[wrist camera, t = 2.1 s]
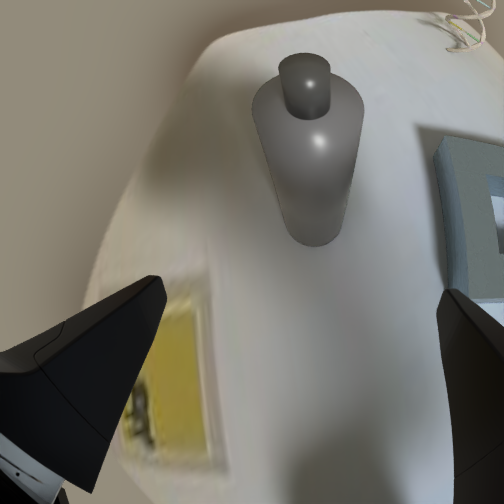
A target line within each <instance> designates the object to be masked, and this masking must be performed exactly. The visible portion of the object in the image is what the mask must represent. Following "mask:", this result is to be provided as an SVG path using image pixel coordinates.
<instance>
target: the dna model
mask: <svg viewBox="0 0 504 504" xmlns="http://www.w3.org/2000/svg"><path fill="white" fill-rule="evenodd" d="M476 1H478V2H480V3H481V4H483V5H485V6H486V7H488V8H489V10H488V11H486V12H484V13H481V14H479V13H477V12H476V10H475V9H474V8H473V7H472V5H471V4H470V3H469V1H468V0H463V2H465V3H467V4H468V6H469V7H470V8H471V9H472V10H473V12H474V14H475V15H463V16H459V15H447V16H446V17H445V20H446V21H447V22H448V23H449V24H450V25H451V26H452V27H453V28H454V29H455V30H456V31H457V33H458V34H459V35H460V36H461V38H462V39H463V40H464V42H465V43H466V45H467V46H468V48H457V49H453V48H447V50H448V51H452V52H469V51H472V50H475V49H477V48H479V47H480V46H481V44H483V43H484V40H485V37H486V34H485V28H484V25H483V22H482V20H481V19H483V18H485V17H488V16H490V15H491V14H492V12H493V11H494V10H495V6H496V4H495V0H492V3H491V7H489V6H488V5H486V4H484V3H483V2H481V1H480V0H476ZM450 19H478V21H479V23H480V26H481V29H482V35H481V38H480V41H479V40H478V39H476V38H475V37H473V36H472V35H470V34H469V33H467V32H466V31H465V30H464V32H465V33H467V34H468V35H469V36H470V37H472V38H473V39H475V40H476V41H477V42H478V43H476V44H474V45H472V46H471V47H469V46H470V45H469V43H468V41H467V40H466V39H465V37H464V36H463V34H462V33H461V32H460V30H462V28H460V27H459V26H457V25H456V24H454V23H452V22H451V21H450ZM458 28H459V29H460V30H459V29H458ZM462 31H463V30H462Z"/></svg>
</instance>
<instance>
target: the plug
mask: <svg viewBox="0 0 504 504" xmlns="http://www.w3.org/2000/svg"><path fill="white" fill-rule="evenodd" d="M278 70H279V75H278V76H276V77H274V78H272V79H271V80H269V81H268V82H266V83H265V84H264V85H263V86H262V87H261V88H260V89H259V90H258V92H257V93H256V95H255V97H254V100H253V103H252V115H253V119H254V122H255V125H256V128H257V131H258V134H259V137H260V140H261V144H262V147H263V150H264V153H265V156H266V159H267V163H268V166H269V169H270V172H271V176H272V179H273V182H274V186H275V189H276V192H277V196H278V199H279V203H280V206H281V209H282V213H283V216H284V220H285V223H286V227H287V230H288V232H289V233H290V235H291V236H292V237H293V238H294V239H295V240H296V241H297V242H299V243H301V244H303V245H306V246H311V247H317V246H322V245H325V244H327V243H329V242H331V241H332V240H333V239H334V238H335V237H336V236H337V235H338V233H339V232H340V229H341V226H342V222H343V218H344V214H345V209H346V205H347V201H348V196H349V192H350V187H351V182H352V177H353V173H354V168H355V162H356V157H357V152H358V147H359V141H360V135H361V130H362V124H363V117H364V104H363V100H362V98H361V96H360V94H359V93H358V91H357V90H356V89H355V88H354V87H353V86H352V85H351V84H350V83H349V82H347V81H346V80H345V79H343V78H341V77H339V76H337V75H335V74H332V73H330V64H329V63H328V61H327V60H326V59H324V58H323V57H321V56H319V55H316V54H312V53H297V54H293V55H290V56H288V57H286V58H284V59H283V60H282V61H281V62H280V64H279V67H278Z"/></svg>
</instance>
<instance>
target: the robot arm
mask: <svg viewBox="0 0 504 504" xmlns="http://www.w3.org/2000/svg"><path fill="white" fill-rule="evenodd" d="M166 303H167V294H166V291H165V288H164V285H163V281H162V279H161V277H160V276H155V275H148V276H146V277H144V278H142V279H140V280H138V281H136V282H135V283H133V284H131V285H129V286H127V287H125V288H123V289H122V290H120V291H118V292H116V293H114V294H112V295H110V296H109V297H107V298H105V299H103V300H101V301H99V302H97V303H96V304H94V305H92V306H90V307H88V308H87V309H85V310H83V311H81V312H79V313H78V314H76V315H74V316H72V317H70V318H68V319H67V320H66V321H63V322H61V323H59V324H58V325H56V326H54V327H52V328H50V329H49V330H47V331H45V332H43V333H41V334H39V335H37V336H35V337H33V338H31V339H29V340H27V341H25V342H23V343H21V344H19V345H17V346H14V347H12V348H10V349H8V350H6V351H3V352H0V504H69V502H68V499H67V496H66V492H65V489H64V488H62V485H63V483H64V481H65V480H67V481H69V482H70V483H72V484H74V485H75V486H77V487H79V488H81V489H83V490H85V491H86V492H88V493H90V494H92V492H93V489H94V487H95V484H96V481H97V478H98V475H99V472H100V470H101V467H102V464H103V461H104V459H105V456H106V453H107V451H108V448H109V446H110V443H111V440H112V438H113V435H114V433H115V430H116V428H117V425H118V423H119V420H120V418H121V415H122V413H123V410H124V408H125V405H126V403H127V401H128V398H129V396H130V393H131V391H132V389H133V386H134V384H135V382H136V379H137V377H138V375H139V372H140V370H141V368H142V365H143V363H144V361H145V359H146V356H147V354H148V352H149V350H150V348H151V345H152V343H153V341H154V338H155V335H156V332H157V329H158V326H159V323H160V320H161V317H162V314H163V312H164V309H165V306H166ZM436 317H437V324H438V332H439V341H440V350H441V358H442V364H443V369H444V375H445V381H446V387H447V393H448V401H449V408H450V417H451V426H452V438H453V455H454V499H453V504H504V327H503V326H502V325H501V324H500V323H499V322H498V321H496V320H495V319H494V318H493V317H492V316H490V315H489V314H488V313H487V312H486V311H484V310H483V309H482V308H481V307H479V306H478V305H477V304H476V303H474V302H473V301H472V300H471V299H469V298H468V297H467V296H466V295H464V294H463V293H462V292H460V291H459V290H458V289H456V288H446V289H445V290H444V291H443V293H442V296H441V299H440V302H439V305H438V308H437V312H436Z"/></svg>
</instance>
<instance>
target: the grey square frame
mask: <svg viewBox="0 0 504 504" xmlns="http://www.w3.org/2000/svg"><path fill="white" fill-rule="evenodd" d="M433 159H434V164H435V169H436V174H437V179H438V185H439V190H440V196H441V203H442V210H443V218H444V226H445V236H446V248H447V263H448V288H456V289H458V290H459V291H460V292H462V293H463V294H464V295H466V296H467V297H468V298H469V299H471V300H472V301H473V302H474V303H502V302H504V254H499V245H498V237H497V229H496V223H495V217H494V211H493V206H492V201H491V196H490V195H492V196H499V197H504V147H500V146H496V145H492V144H488V143H483V142H479V141H474V140H469V139H464V138H458V137H453V136H447V135H445V137H444V138H443V140H442V142H441V144H440V146H439V147H438V149H437V151H436V153H435V154H434V156H433Z"/></svg>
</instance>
